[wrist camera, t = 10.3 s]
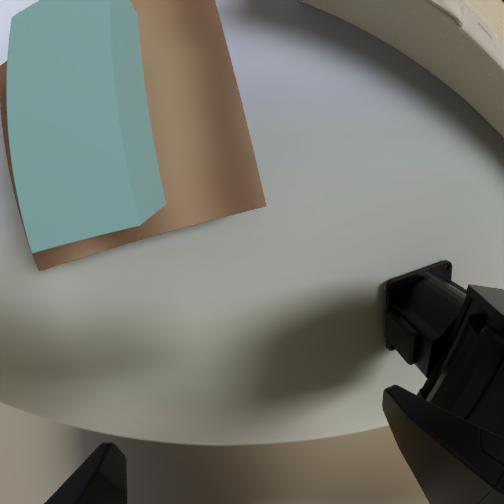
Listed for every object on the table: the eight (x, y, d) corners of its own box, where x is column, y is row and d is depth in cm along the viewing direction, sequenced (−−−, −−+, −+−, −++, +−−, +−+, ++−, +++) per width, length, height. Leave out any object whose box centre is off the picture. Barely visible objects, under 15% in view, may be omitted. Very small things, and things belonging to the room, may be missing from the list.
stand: (208, -2, 13) (207, -26, 10) (258, 198, 18) (266, 206, 15) (22, 74, 13) (-1, 66, 10) (60, 256, 17) (39, 271, 14)
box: (543, 41, 14) (348, -112, 8) (580, 38, 7) (373, -148, 1) (537, 184, 21) (291, 8, 15) (585, 199, 13) (327, -53, 7)
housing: (166, 204, 14) (139, 225, 9) (81, 225, 14) (31, 253, 9) (137, 13, 11) (110, -32, 6) (58, 45, 11) (12, 17, 6)
